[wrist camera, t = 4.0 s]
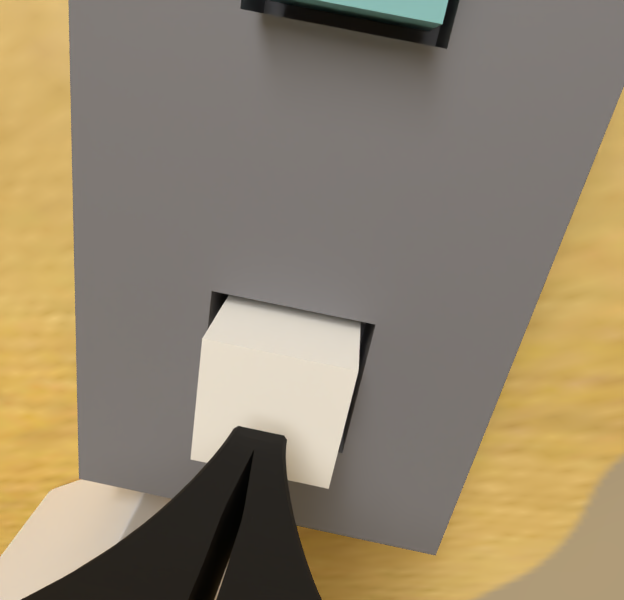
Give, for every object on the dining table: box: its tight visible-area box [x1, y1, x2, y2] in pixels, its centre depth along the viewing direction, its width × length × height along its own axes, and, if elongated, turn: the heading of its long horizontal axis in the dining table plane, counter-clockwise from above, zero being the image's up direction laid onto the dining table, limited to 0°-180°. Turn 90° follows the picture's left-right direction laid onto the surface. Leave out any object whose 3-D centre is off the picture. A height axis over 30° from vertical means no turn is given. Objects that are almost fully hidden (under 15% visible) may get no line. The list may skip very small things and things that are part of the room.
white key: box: [190, 295, 361, 489], centre depth 17 cm, size 4×4×3 cm
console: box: [69, 0, 624, 555], centre depth 16 cm, size 14×26×4 cm, turn 170°
